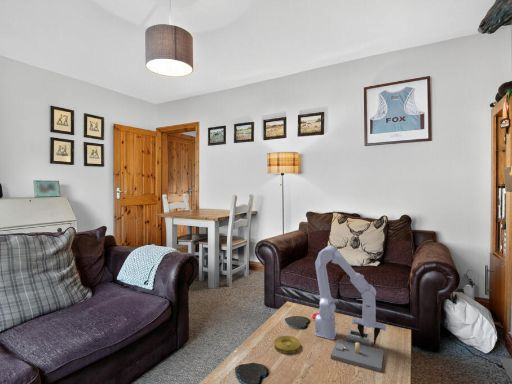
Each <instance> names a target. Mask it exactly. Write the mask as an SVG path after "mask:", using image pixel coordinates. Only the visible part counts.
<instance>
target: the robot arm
mask: <svg viewBox="0 0 512 384" xmlns="http://www.w3.org/2000/svg"><path fill="white" fill-rule="evenodd" d="M329 262H331V263H332V264H336V265H338V266H339V267H340V268H341V269H342V270H343V271H344V272H345V273H346V274H347V275H348V276H349V277H350V279H349V281H350V282H351V284H352V285H353V286H354V287H355V289H356V290H357V291H358V292H359V293H360V294H361V295H360V296H361V298H362V304H361V305H362V312H361V313H362V314H361V317H362V318H352V325H357V331H359V332H360V335H361V337H364V332H365V328H368V329H371V328H373V345H376V344H377V343H376V341H377V339H378V337H379V334H380V333H381V330H382V331H384V332H387V324H383V323H381V322H377V321H376V314H377V313H376V310H377V309H376V308H377V307H376V304H377V303H376V296H377V290H376V288H375V286H373V285H371V284H370V283H369V282H368V281H367V280H366V279H365V276H364V274H361V273H359V272H357V271H355V270H354V269H353V267H352V266H351V265H350V263H349V262H348V261H347V260H346V258H345V257H344V256H343V254H342V253H341V251H340V250H339V249H337V247H336V246H335V245H333V244H330V245H327V246H326V247H324V248H323V249H321V250H320V251H319V252H318V255H317V258H316V260H315V262H314V266H315V271H316V272H315V273H316V279H317V284H318V289H319V290H318V291H319V309H318V313H319V315H316V319H314V336H317V337H320V338H325V339H328V340H333V341H334V340H335V338H336V336H337V334H338V331H336V315H335V314H334V312H336V310H337V306H336V304H335V302H334V298H333V297H332V296H331V295H332V294H331V290H330V289H331V288H330V282H329V277H328V272H327V271H328V270H327V264H328V263H329Z"/></svg>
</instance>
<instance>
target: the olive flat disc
mask: <svg viewBox="0 0 512 384" xmlns="http://www.w3.org/2000/svg"><path fill="white" fill-rule="evenodd" d="M273 344H274V348H275V350H277V351H278V352H279V353H280V352H281V354H283V353H286V354H285V355H287V354H293V353H296V352H300V350H301V342H300V340H299V339H298V338H296V337H295V336H291V335H282V336H277V338H275V339H274V342H273Z"/></svg>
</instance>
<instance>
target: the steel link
mask: <svg viewBox="0 0 512 384" xmlns="http://www.w3.org/2000/svg"><path fill="white" fill-rule="evenodd" d="M346 341H347V342H351V343H356V342H358V343H360V345H363V346H368V347H371V343H372V333H369V332H365V331H364V337H361V335H360V332H359V330H356V329H350V328H348V331H347V334H346Z"/></svg>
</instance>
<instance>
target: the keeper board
mask: <svg viewBox="0 0 512 384" xmlns="http://www.w3.org/2000/svg"><path fill="white" fill-rule="evenodd" d="M337 343H338V344H342V345H344V347H347V348H348V350H345V349H343V351H339V350H336V346H337ZM384 354H385V353H384V350H383V349H380V348H375V347H372V346H370V347H368V346H363V345H360V343H358V342H356V343H351V342H347V340H342V339H338V338H337V340H336V342H335V345H334V347H333V349H332V351H331V354H330V359H333V360H335V361H340V362H343V363H347V364H350V365H355V366H357V367H360V368H363V369H364V368H365V369H368V370H372V371H376V372H379V373H382V368H383V361H384V360H383V359H384Z"/></svg>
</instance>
